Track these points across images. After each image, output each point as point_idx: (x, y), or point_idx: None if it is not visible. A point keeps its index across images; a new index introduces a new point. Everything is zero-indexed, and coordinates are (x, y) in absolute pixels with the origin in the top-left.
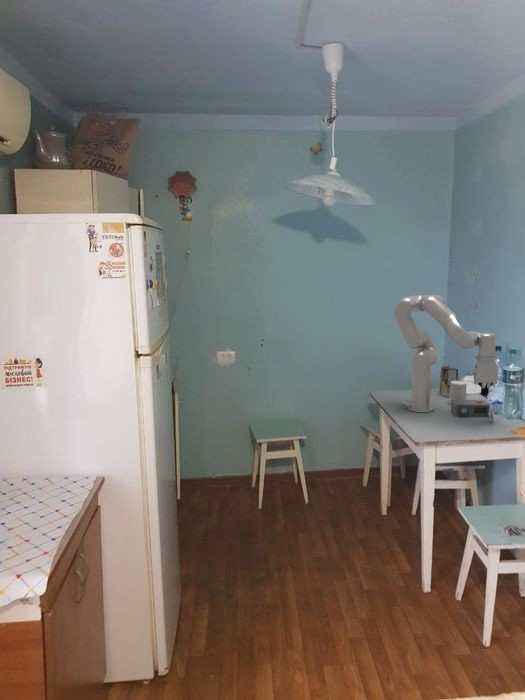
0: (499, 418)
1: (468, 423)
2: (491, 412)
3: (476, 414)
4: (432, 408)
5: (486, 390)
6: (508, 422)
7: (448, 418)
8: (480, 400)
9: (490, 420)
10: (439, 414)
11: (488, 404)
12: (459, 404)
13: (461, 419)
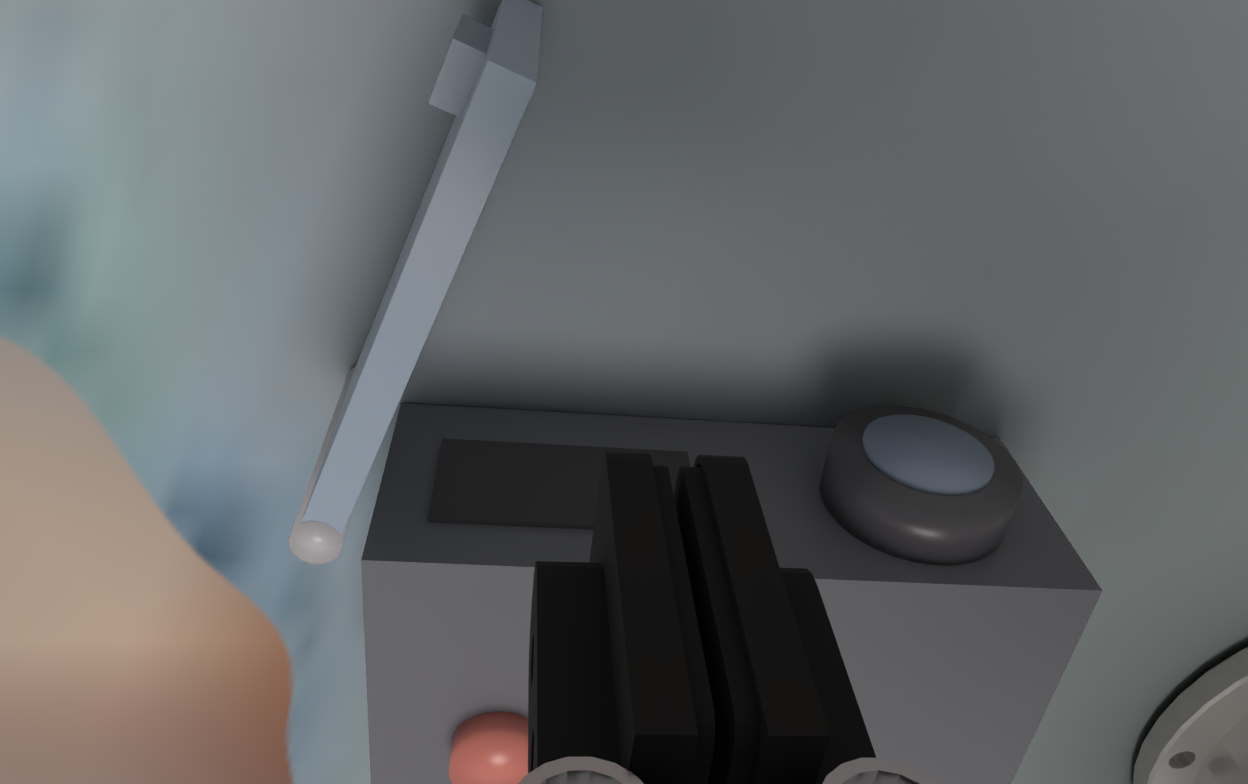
0: (211, 292)
1: (1026, 4)
2: (505, 52)
3: (633, 438)
4: (1206, 710)
5: (688, 650)
6: (76, 15)
7: (1208, 334)
8: (477, 766)
9: (524, 6)
10: (1205, 530)
11: (364, 595)
12: (1023, 608)
13: (1006, 268)
